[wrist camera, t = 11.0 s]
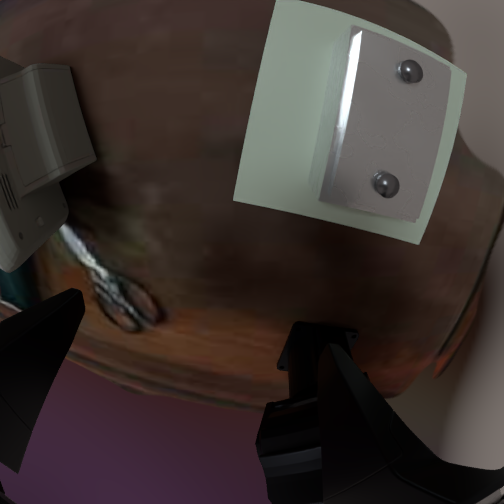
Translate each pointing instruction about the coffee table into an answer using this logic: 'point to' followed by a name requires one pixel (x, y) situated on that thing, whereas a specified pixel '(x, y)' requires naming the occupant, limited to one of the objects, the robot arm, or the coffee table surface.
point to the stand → (317, 120)
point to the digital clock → (36, 154)
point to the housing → (379, 125)
